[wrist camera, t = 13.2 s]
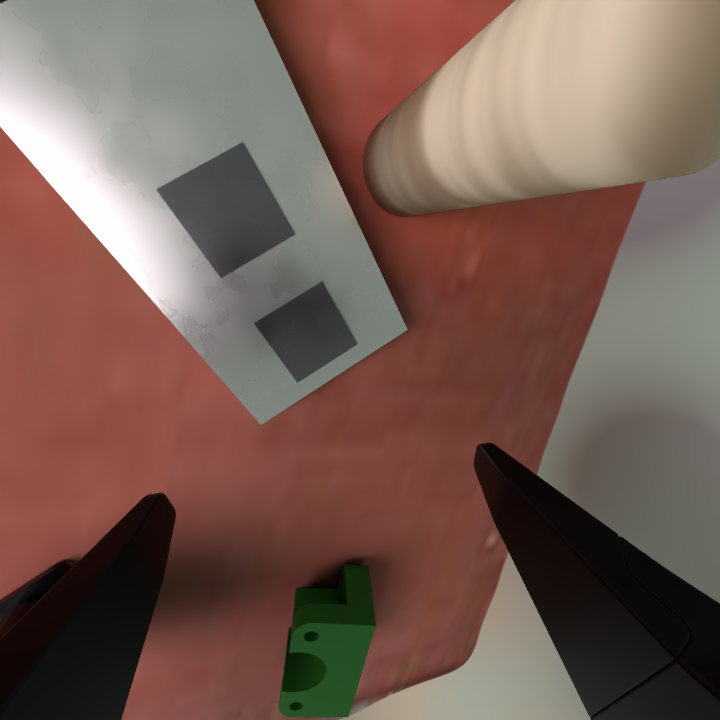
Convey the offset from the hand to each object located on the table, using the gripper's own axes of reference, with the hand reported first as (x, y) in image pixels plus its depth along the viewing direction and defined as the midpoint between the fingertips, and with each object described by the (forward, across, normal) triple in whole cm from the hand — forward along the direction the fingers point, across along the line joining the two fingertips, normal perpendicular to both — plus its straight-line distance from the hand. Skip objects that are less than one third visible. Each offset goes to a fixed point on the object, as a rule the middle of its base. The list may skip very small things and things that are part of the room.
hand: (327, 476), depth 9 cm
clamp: (+6, +4, +25) cm, 26 cm away
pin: (+14, -6, -7) cm, 17 cm away
